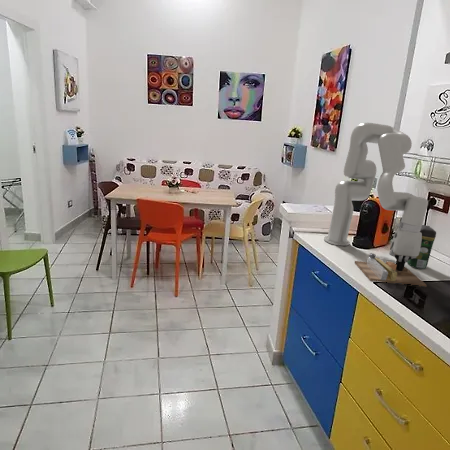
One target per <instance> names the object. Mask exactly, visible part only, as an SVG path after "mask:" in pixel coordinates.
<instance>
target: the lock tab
mask: <svg viewBox="0 0 450 450" xmlns="http://www.w3.org/2000/svg"><path fill="white" fill-rule="evenodd" d="M385 263H386V264H387V265H388V266H389V267H391V268H392V269H393V270H394V271H395V270H396V266H397V265H396V262H393V261H386V262H385Z"/></svg>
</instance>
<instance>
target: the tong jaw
mask: <svg viewBox="0 0 450 450" xmlns="http://www.w3.org/2000/svg"><path fill="white" fill-rule="evenodd" d="M374 259H375V260H376V261H377V262H378V263H379V264H380V265H381V266H382V267H383V268H384V269H385V270H386V271H387V272H388V275H387V279H389V280H390V281H395V280H396V277H397V272H396V271H394V270H393V269H392V268H391V267H389V266H388V265H387V264H386V262H384V260H382V259H380V258H379V257H375V258H374Z"/></svg>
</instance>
